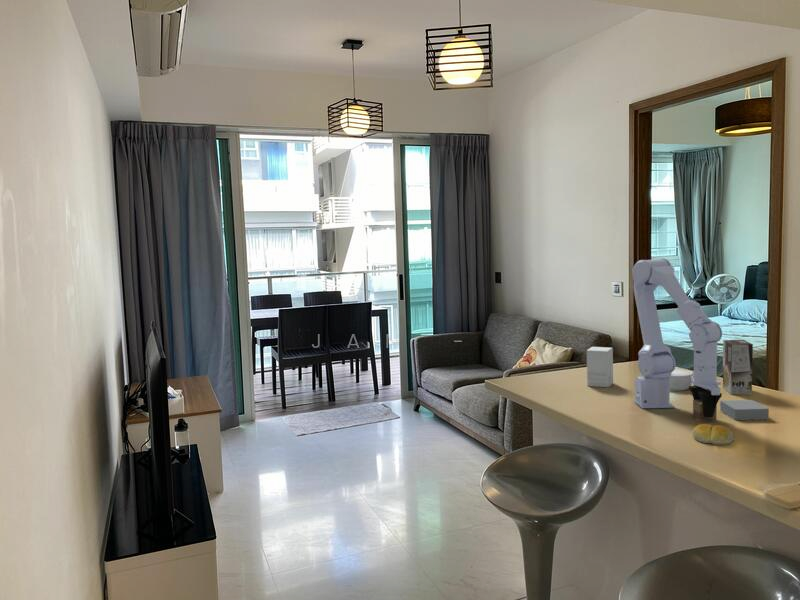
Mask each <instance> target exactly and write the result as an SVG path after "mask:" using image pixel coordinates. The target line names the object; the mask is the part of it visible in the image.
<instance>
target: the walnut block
mask: <svg viewBox="0 0 800 600" xmlns="http://www.w3.org/2000/svg"><path fill="white" fill-rule="evenodd" d="M717 408H718V407H717V405H716V408H715V411H714V415H713V417H704V414H703V406H702V401H701V400H694V399H693V400H692V418H693V419H695V420H696V419H697V420H696V421H698V422H700V423H701V422H703V423H705V422H710V423H711V421H712V422H717Z"/></svg>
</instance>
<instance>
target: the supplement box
mask: <svg viewBox="0 0 800 600" xmlns="http://www.w3.org/2000/svg"><path fill="white" fill-rule="evenodd" d="M585 351H586V379H587V380H586V384H587V387H599V388H610V386H612V385H613V384H614V358H613V357H614V356H613V355H614V354H613V352H614V348H613V347H606V346H605V347H603V346H591V347H589V348H588V349H587V350H585Z"/></svg>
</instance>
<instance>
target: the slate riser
mask: <svg viewBox="0 0 800 600" xmlns="http://www.w3.org/2000/svg"><path fill="white" fill-rule="evenodd" d="M719 403H720V404H719V407H720V408H719V409H720V412H721V411H722V412H721V413H723V414H724V413H725V414H724V415H726V416H727V415H728V416H727V417H729V416H730V417H729V418H730V419H732V418H733V419H732V420H734V421H752V420H751V419H756V420H757V419H761V420H764V419H766V420H769V419H770V418H769V416H770V415H769V413H770V411H769V410H770V409H769V408H768V407H767V406H764V405H763V404H761V403H759V402H757V401H755V400H753V399H744V400H741V399H740V400H734V399H733V400H720V401H719ZM756 420H755V421H756ZM757 421H758V420H757Z"/></svg>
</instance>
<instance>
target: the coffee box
mask: <svg viewBox="0 0 800 600" xmlns="http://www.w3.org/2000/svg"><path fill="white" fill-rule="evenodd" d="M722 343H723V344H722V389H724V390H725V391H726V392H728V393H729V394H730V395H747V396H748V395H749V396H750V395H752V394H753V393H752V391H753V389H752V388H753V359H754V358H753V357H754V356H753V355H754V353H753V352H754V350H753V349H754V344H753V343H751V342H748V341H747V340H744V339H728V340H727V339H724V340H722Z"/></svg>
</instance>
